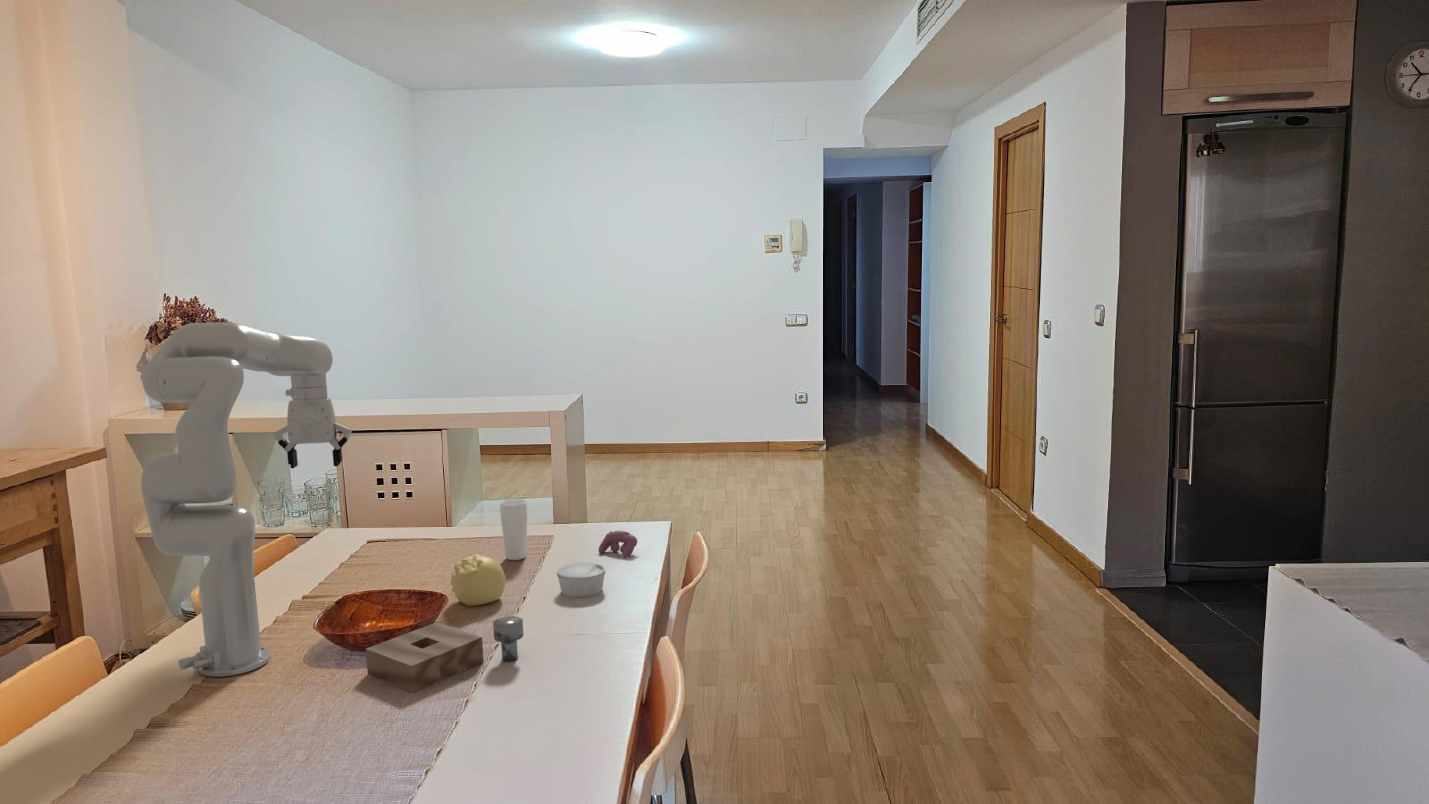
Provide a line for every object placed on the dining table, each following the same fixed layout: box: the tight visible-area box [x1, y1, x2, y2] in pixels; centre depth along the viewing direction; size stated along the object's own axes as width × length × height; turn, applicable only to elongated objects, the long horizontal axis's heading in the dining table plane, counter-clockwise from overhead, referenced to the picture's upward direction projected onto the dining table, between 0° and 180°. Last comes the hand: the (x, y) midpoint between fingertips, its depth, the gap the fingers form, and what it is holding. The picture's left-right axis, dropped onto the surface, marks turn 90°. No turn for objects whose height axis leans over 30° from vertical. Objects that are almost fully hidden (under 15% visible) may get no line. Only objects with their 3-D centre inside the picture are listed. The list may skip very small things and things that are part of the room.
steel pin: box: [492, 615, 524, 663], centre depth 184 cm, size 6×6×8 cm
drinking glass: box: [499, 498, 528, 561], centre depth 248 cm, size 7×7×15 cm
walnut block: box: [365, 621, 485, 693], centre depth 180 cm, size 16×14×5 cm
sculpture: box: [450, 553, 506, 607], centre depth 216 cm, size 12×12×11 cm
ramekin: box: [556, 562, 606, 598], centre depth 222 cm, size 11×11×5 cm
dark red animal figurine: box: [598, 530, 638, 559], centre depth 251 cm, size 10×5×7 cm, turn 58°
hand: (315, 466), depth 222 cm, fingers open, 9 cm apart
